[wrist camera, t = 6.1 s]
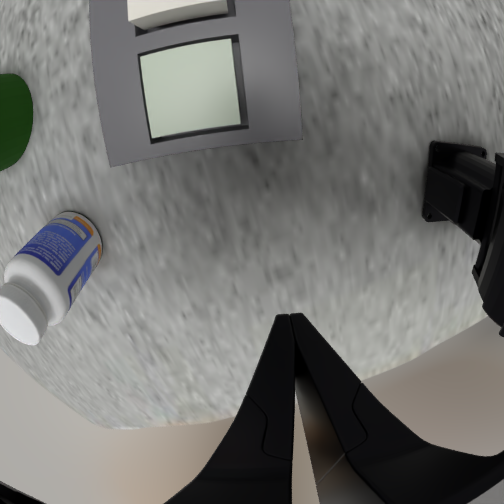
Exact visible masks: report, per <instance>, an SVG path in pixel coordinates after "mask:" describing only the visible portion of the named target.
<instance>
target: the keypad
mask: <svg viewBox="0 0 504 504" xmlns="http://www.w3.org/2000/svg"><path fill="white" fill-rule="evenodd" d="M227 7H228V13H226V14H218V15H211V16H205V17H199V18H194V19H188V20H183V21H179V22H174V23H170V24H166V25H162V26H158V27H154V28H150V29H147V30H143V29H141V28H139V27H138V26H136V25H134V24H132V23H131V22H129V21H128V6H127V0H89V16H90V39H91V52H92V63H93V72H94V81H95V88H96V95H97V102H98V108H99V114H100V120H101V126H102V131H103V136H104V141H105V146H106V150H107V155H108V159H109V164H110V168H111V167H115V166H119V165H124V164H128V163H132V162H137V161H141V160H146V159H151V158H156V157H161V156H167V155H172V154H178V153H184V152H190V151H196V150H203V149H209V148H217V147H224V146H233V145H241V144H251V143H262V142H274V141H288V140H303V133H302V118H301V104H300V91H299V80H298V69H297V59H296V50H295V41H294V33H293V25H292V17H291V10H290V3H289V0H227ZM224 39H231V42H232V47H233V55H234V64H235V73H236V81H237V90H238V99H239V108H240V117H241V124H235V125H227V126H219V127H212V128H205V129H199V130H193V131H187V132H181V133H176V134H170V135H165V136H160V137H156V138H152V135H151V130H150V124H149V118H148V112H147V105H146V98H145V92H144V84H143V77H142V69H141V60H140V57H141V56H145V55H148V54H152V53H156V52H160V51H164V50H168V49H173V48H177V47H182V46H187V45H192V44H197V43H203V42H209V41H216V40H224Z"/></svg>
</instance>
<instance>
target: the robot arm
mask: <svg viewBox="0 0 504 504" xmlns="http://www.w3.org/2000/svg"><path fill="white" fill-rule="evenodd" d="M436 146H437V147H438V148H437V150H436ZM481 153H482V154H481ZM486 155H487V152H486V150H485V149H484V148H482V147H478V146H472V145H465V144H458V143H450V142H442V141H433V142H432V143H431V145H430V156H429V167H428V176H427V185H426V192H425V201H424V208H423V214H422V217H423V219H424V220H425V221H427V222H436V221H451V222H452V223H454V224H456V225H457V226H458V227H459V228H461V229H462V230H463V231H464V232H465V233H466V234H467V235H469V236H470V237H471V238H472V239H473V240H475V241H477V242H478V243H479V244H480V245H481V246H480V250H479V254H478V257H477V261H476V264H475V265H474V266H473V270H472V274H473V277H474V279H475V281H476V283H477V286H478V290H479V293H480V295H481V298H482V300H483V302H484V303H483V305H482V307H483V309H484V311H485V312H486V313H487V315H488V316H489V317H490V318H491V319H492V320H493V321H494V322H495V323H496V324H497V325H499V326H500V327H501V330H500V332H499V335H500V336H502V337H504V153H495V162H496V164H494V163H492V162H490V161H488V160H486ZM428 214H429V216H428ZM427 216H428V217H427ZM295 391H296V396H297V400H298V405H299V409H300V414H301V418H302V422H303V427H304V431H305V436H306V440H307V445H308V450H309V454H310V459H311V464H312V469H313V473H314V478H315V482H316V485H317V486H316V488H317V492H318V497H319V502H320V504H504V450H503V451H502V452H500V453H499V454H497V455H494V456H486V457H485V456H477V455H473V454H468V453H463V452H459V451H455V450H451V449H447V448H443V447H440V446H436V445H433V444H430V443H428V442H426V441H424V440H423V439H421V438H420V437H418V436H417V435H416V434H415V433H414V432H412V431H411V430H410V429H409V428H408V427H407V426H406V425H405V424H403V423H402V422H401V421H400V420H399V419H398V418H396V417H395V416H394V415H393V414H392V413H391V412H390V411H389V410H388V409H387V408H386V407H385V406H383V405H382V404H381V403H380V402H379V401H378V400H377V399H376V397H375V396H373V394H372V393H371V392H370V391H369V390H368V389H367V388H366V386H365V385H364V384H363V383H361V381H360V379H359V378H358V377H357V376H356V375H355V374H354V372H353V371H352V370H351V369H350V368H349V367H348V365H347V364H346V363H345V362H344V361H343V360H342V358H341V357H340V356H339V355H338V354H337V353H336V352H335V350H334V349H333V348H332V347H331V346H330V345H329V343H328V342H327V341H326V340H325V339H324V338H323V336H322V335H321V334H320V333H319V332H318V331H317V329H316V328H315V327H314V326H313V325H312V324H311V322H310V321H309V320H308V319H307V318H306V317H305V316H304V314H303V313H291V314H290V315H289V314H278V315H276V317H275V320H274V323H273V325H272V328H271V331H270V333H269V336H268V339H267V341H266V344H265V347H264V349H263V352H262V355H261V357H260V360H259V362H258V365H257V367H256V370H255V372H254V375H253V378H252V380H251V383H250V385H249V388H248V390H247V392H246V395H245V397H244V399H243V402H242V404H241V406H240V409H239V411H238V413H237V415H236V417H235V419H234V421H233V423H232V425H231V426H230V428H229V430H228V432H227V433H226V435H225V436H224V438H223V440H222V441H221V443H220V444H219V446H218V447H217V449H216V450H215V452H214V453H213V455H212V457H211V458H210V460H209V461H208V462H207V464H206V465H205V467H204V468H203V469H202V470H201V472H200V473H199V474H198V475H197V476H196V477H195V478H194V479H193V480H192V482H190V483H189V484H188V485H186V486H185V487H184V488H183V489H182V490H180V491H179V492H178V493H177V494H175V495H174V496H173V497H171V498H170V499H169V500H168V501H167V502H165V503H164V504H292V460H293V442H294V413H295ZM0 504H46V503H44V502H42V501H40V500H38V499H36V498H34V497H32V496H29V495H27V494H25V493H23V492H21V491H19V490H16V489H15V488H13V487H11V486H9V485H7V484H5V483H3V482H1V481H0Z"/></svg>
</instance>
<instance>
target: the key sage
mask: <svg viewBox="0 0 504 504" xmlns="http://www.w3.org/2000/svg"><path fill="white" fill-rule="evenodd" d="M140 60H141V69H142V77H143V84H144V92H145V98H146V105H147V112H148V118H149V124H150V130H151V135H152V138H156V137H160V136H165V135H170V134H176V133H181V132H187V131H193V130H199V129H205V128H212V127H219V126H227V125H235V124H241V117H240V108H239V99H238V90H237V81H236V73H235V64H234V55H233V47H232V42H231V39H224V40H216V41H209V42H203V43H197V44H192V45H187V46H182V47H177V48H173V49H168V50H164V51H160V52H156V53H152V54H148V55H145V56H141V57H140Z"/></svg>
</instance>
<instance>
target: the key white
mask: <svg viewBox="0 0 504 504" xmlns="http://www.w3.org/2000/svg"><path fill="white" fill-rule="evenodd" d="M127 6H128V21H129V22H131V23H132V24H134V25H136V26H138V27H139V28H141V29H143V30H147V29H150V28H154V27H158V26H162V25H166V24H170V23H174V22H179V21H183V20H188V19H194V18H199V17H205V16H211V15H218V14H226V13H228V7H227V0H127Z"/></svg>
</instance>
